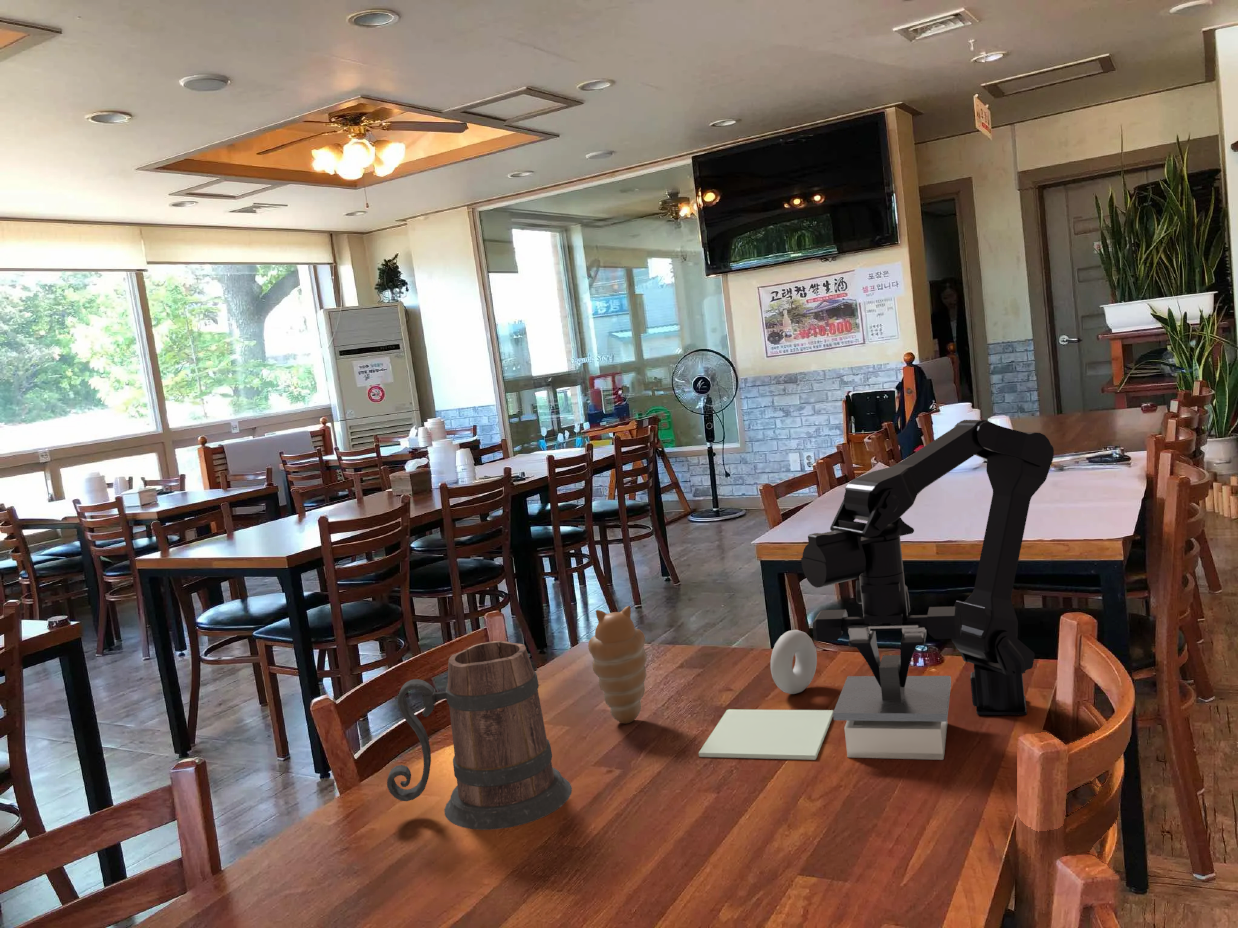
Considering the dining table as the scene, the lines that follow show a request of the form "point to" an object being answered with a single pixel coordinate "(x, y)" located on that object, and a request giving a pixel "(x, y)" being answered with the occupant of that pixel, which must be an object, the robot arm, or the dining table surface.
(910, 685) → the lid
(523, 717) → the tankard
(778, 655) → the donut
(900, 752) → the dish
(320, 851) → the dining table surface
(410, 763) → the dining table surface
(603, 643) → the cat ice cream
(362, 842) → the dining table surface
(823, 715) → the mat
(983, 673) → the robot arm
